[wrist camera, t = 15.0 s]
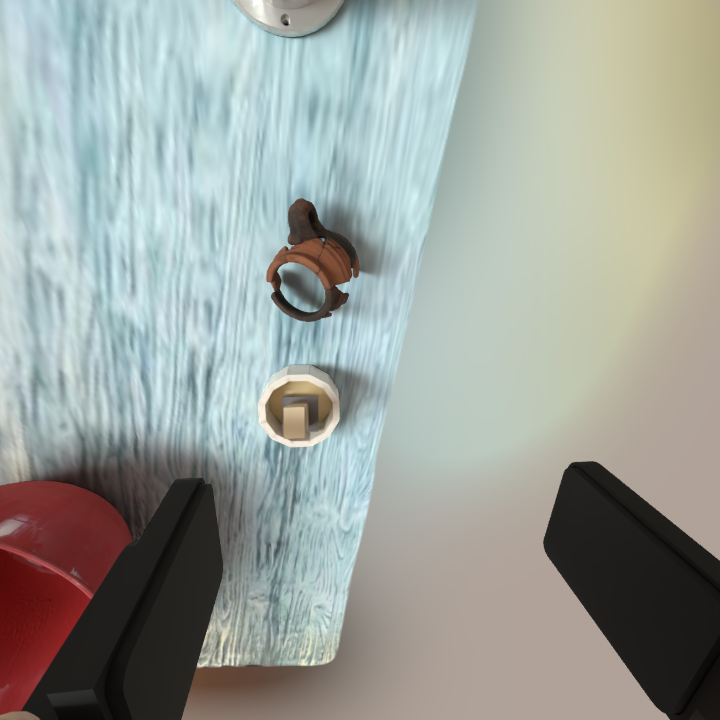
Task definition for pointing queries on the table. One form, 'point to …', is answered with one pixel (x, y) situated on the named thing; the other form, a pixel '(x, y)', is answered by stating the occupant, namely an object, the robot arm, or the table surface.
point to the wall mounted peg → (299, 416)
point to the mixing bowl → (48, 574)
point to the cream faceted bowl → (299, 384)
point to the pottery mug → (314, 260)
